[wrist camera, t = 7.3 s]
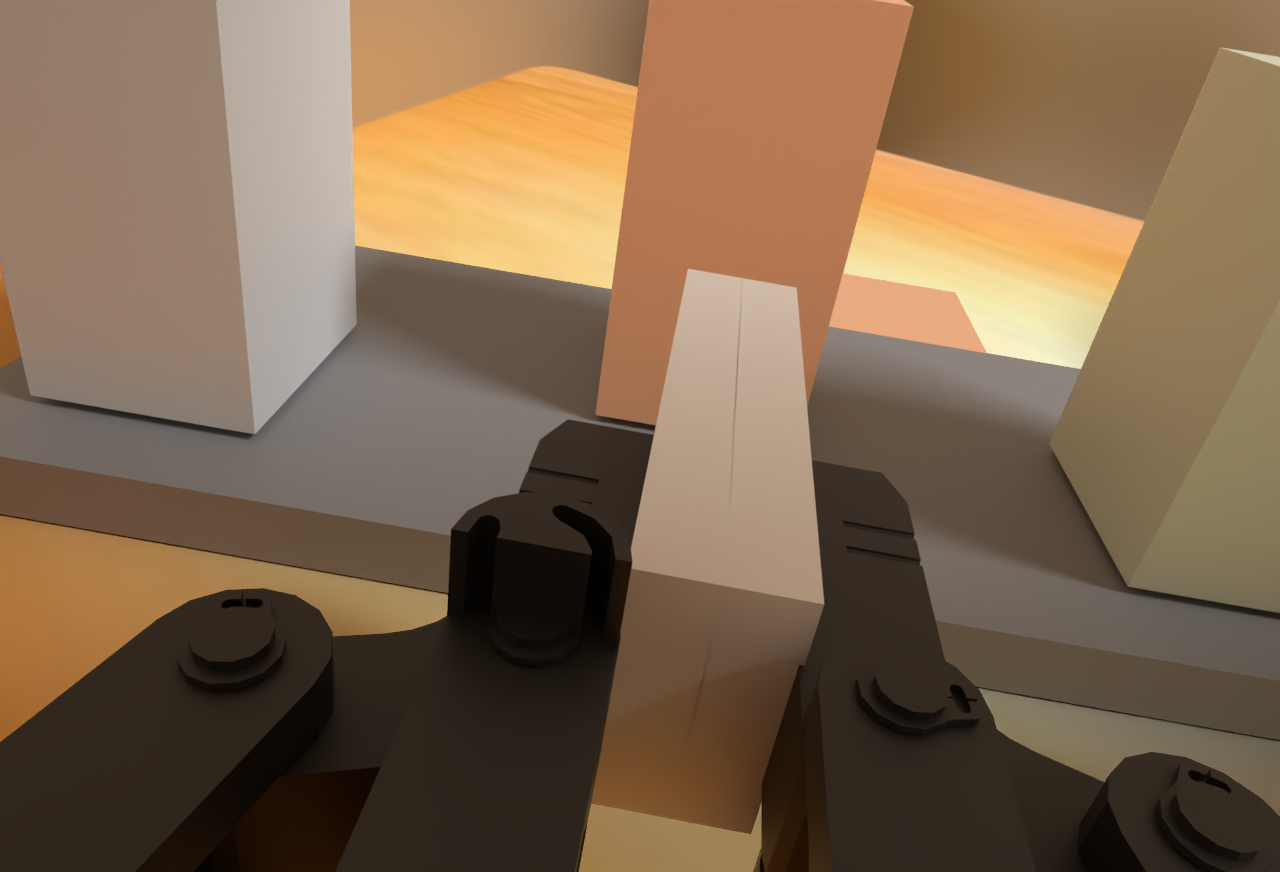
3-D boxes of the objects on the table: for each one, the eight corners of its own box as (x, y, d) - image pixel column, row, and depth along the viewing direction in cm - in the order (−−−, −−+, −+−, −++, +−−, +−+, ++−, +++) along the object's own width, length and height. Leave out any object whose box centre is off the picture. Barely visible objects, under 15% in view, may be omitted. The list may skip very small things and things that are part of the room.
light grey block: (356, 324, 25) (347, -95, 20) (254, 434, 20) (207, -94, 15) (177, 293, 25) (122, -132, 20) (30, 395, 20) (-94, -142, 15)
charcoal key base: (1174, 428, 31) (1193, 388, 30) (1447, 770, 19) (1492, 718, 18) (234, 267, 31) (231, 224, 30) (-88, 498, 19) (-108, 437, 18)
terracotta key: (787, 347, 28) (876, -19, 23) (796, 449, 23) (913, 6, 18) (624, 319, 28) (676, -51, 23) (595, 414, 23) (654, -36, 18)
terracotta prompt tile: (950, 306, 38) (955, 292, 37) (982, 371, 32) (988, 355, 32) (805, 281, 38) (808, 267, 37) (814, 342, 33) (818, 327, 32)
